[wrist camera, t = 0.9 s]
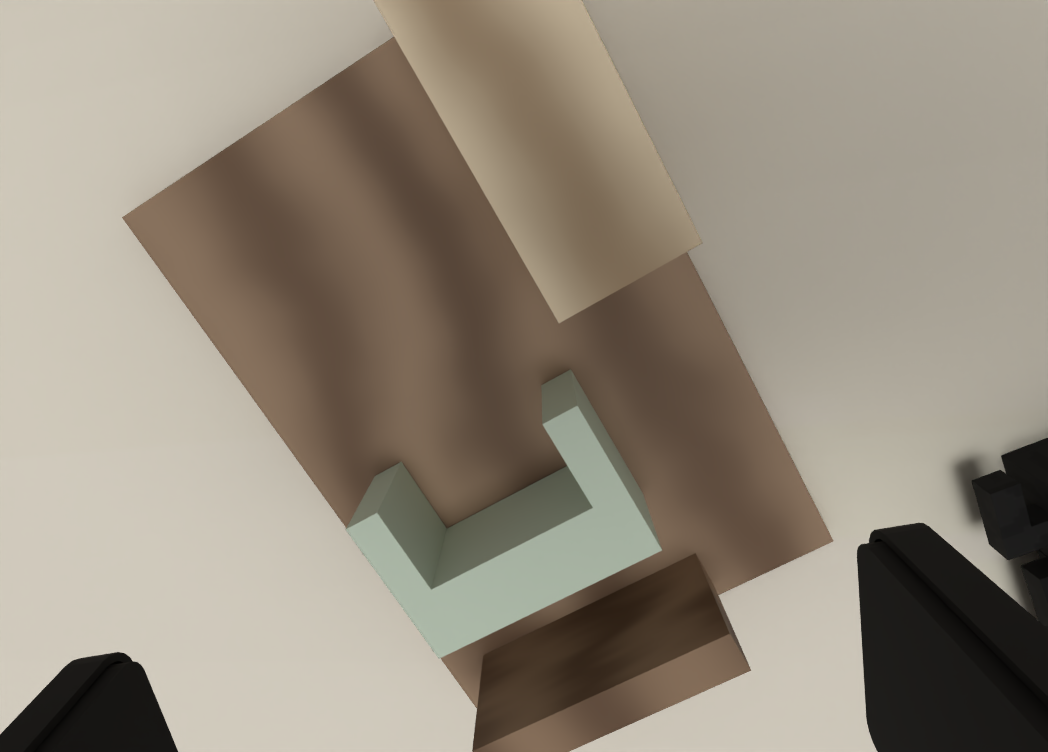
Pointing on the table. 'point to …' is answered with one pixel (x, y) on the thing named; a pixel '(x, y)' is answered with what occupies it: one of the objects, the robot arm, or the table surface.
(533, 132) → the beige wooden brick
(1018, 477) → the toy
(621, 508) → the block
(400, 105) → the board
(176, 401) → the table surface
